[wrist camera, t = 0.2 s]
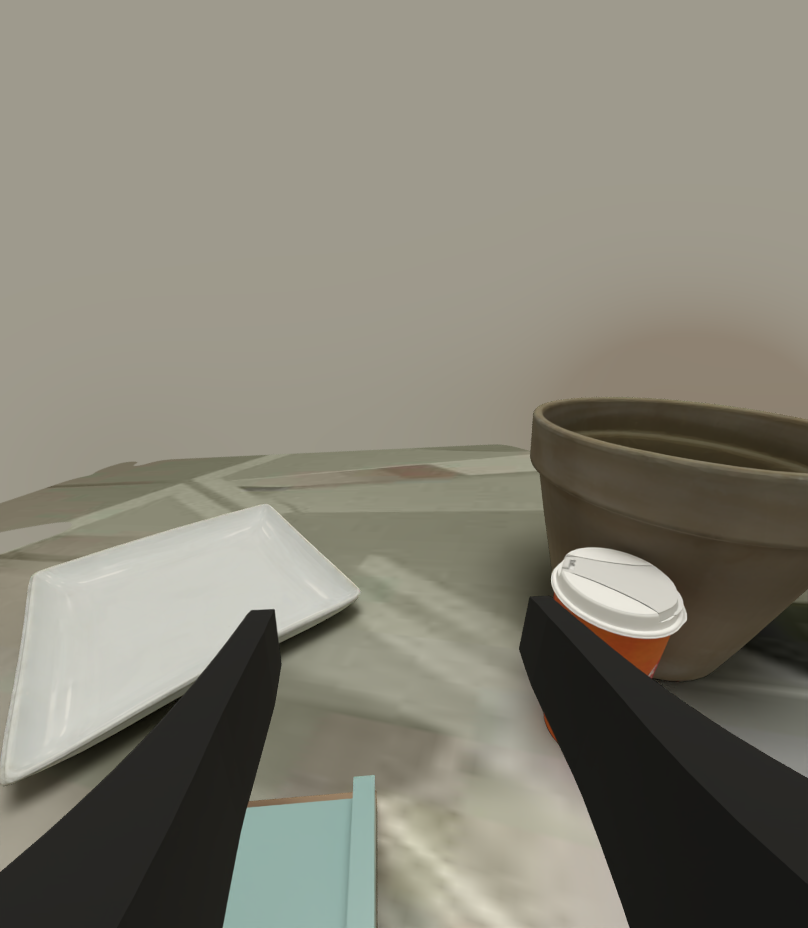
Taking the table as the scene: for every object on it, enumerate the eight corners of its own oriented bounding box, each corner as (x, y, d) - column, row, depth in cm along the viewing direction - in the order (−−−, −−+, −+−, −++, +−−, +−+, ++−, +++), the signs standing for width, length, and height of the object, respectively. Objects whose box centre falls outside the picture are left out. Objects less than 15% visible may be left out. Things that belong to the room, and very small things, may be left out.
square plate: (40, 597, 43) (28, 569, 42) (271, 521, 60) (267, 499, 58) (13, 821, 24) (-12, 783, 22) (366, 617, 40) (365, 588, 39)
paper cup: (519, 743, 28) (543, 591, 23) (539, 665, 34) (562, 532, 29) (641, 806, 24) (702, 641, 19) (639, 706, 30) (684, 563, 25)
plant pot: (673, 552, 51) (721, 393, 43) (898, 745, 28) (1089, 475, 20) (489, 552, 51) (504, 393, 43) (560, 745, 28) (620, 476, 20)
